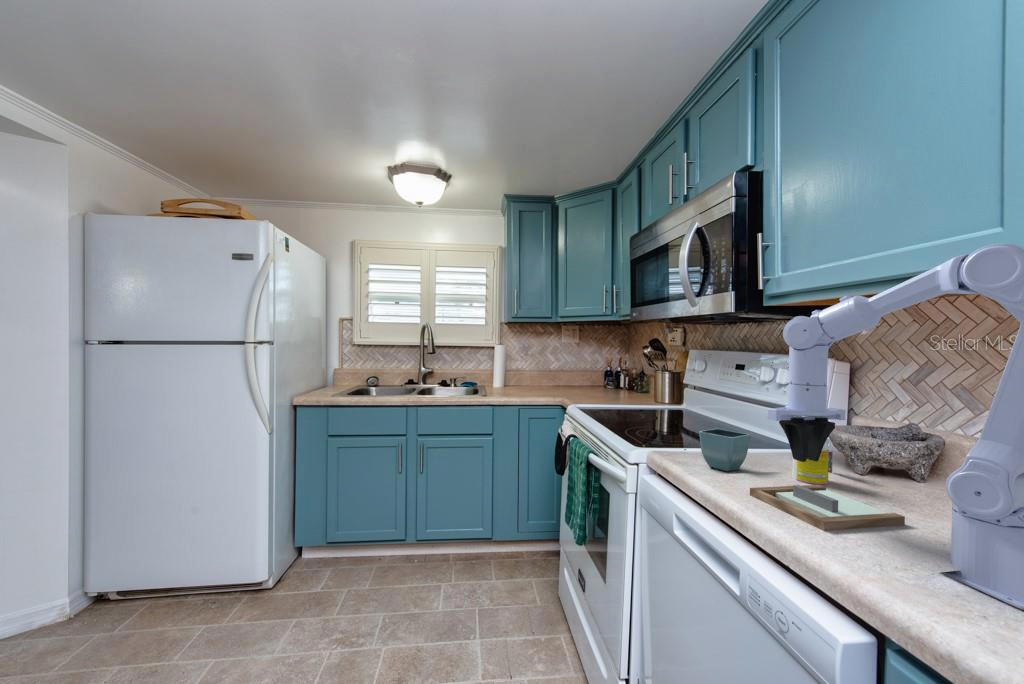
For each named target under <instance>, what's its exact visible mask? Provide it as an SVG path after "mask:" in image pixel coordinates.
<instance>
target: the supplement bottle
mask: <svg viewBox="0 0 1024 684" xmlns="http://www.w3.org/2000/svg"><path fill="white" fill-rule="evenodd" d="M791 457H792V458H791V479H792V480H794V481H797V482H800V483H804V484H807V485H821V486H826V485H828V484H829V472H828V466H829V444H827V443H826V442H825V444H824V446H823V449H822V452H821V454H820V457H819V460H818V461H812V460H809V459H806V462H801V461H798V460H795V459H793V456H792V455H791Z"/></svg>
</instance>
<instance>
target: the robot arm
mask: <svg viewBox="0 0 1024 684" xmlns="http://www.w3.org/2000/svg"><path fill="white" fill-rule="evenodd" d="M947 294H949V295H950V294H952V295H982V296H983V297H987V298H989V299H991V300H993V301H994V302H997V303H999V305H1000V306H1002V308H1004V309H1005V310H1006V312H1008V313H1009V314H1011V315H1012V317H1014V318H1015V319H1016V320H1017V321H1018V322H1019V323H1020V325H1019V328H1018V331H1017V334H1016V336H1015V339H1014V342H1013V344H1012V347H1011V350H1010V352H1009V355H1008V357H1007V362H1006V364H1005V367H1004V370H1003V372H1002V375H1001V378H1000V380H999V383H998V386H997V389H996V391H995V394H994V397H993V399H992V403H991V406H990V408H989V410H988V414H987V416H986V419H985V422H984V424H983V427H982V430H981V433H980V435H979V438H978V440H977V442H976V443H975V444H974V445H973V447H972V448H971V449H970V450H969V451H968V453H967V454H966V456H965V458H964V461H963V462H962V463H963V464H962V465H961V466H960V467H959V468H958V469H956V470H955V471H953V472H952V473H951V474H949V475H948V477H947V479H946V481H945V490H946V494H947V496H948V498H949V499H950V501H951V502H952V504H951V532H950V541H951V543H950V563H951V565H952V566H953V567H954V568H956V569H957V570H949V571H941V572H939V573H941V574H942V575H944V576H947V577H949V578H951V579H953V580H956V581H958V582H960V583H962V584H965V585H966V586H969V587H971V588H973V589H976V590H978V591H980V592H982V593H984V594H987V595H989V596H991V597H994V598H995V599H998V600H1000V601H1003V602H1004V603H1006V604H1009V605H1011V606H1014V607H1015V608H1018V609H1020V610H1023V611H1024V247H1022V246H1019V245H1017V244H1012V243H1005V242H1003V243H1002V242H1001V243H1000V242H999V243H992V244H989V245H985V246H982V247H980V248H977V249H976V250H974V251H972V252H971V253H970V254H969V253H965V254H961V255H958V256H954V257H953V258H950V259H949V260H947V261H945V262H944V263H941V264H939V265H937V266H935V267H932V268H931V269H929V270H927V271H924V272H921V273H920V274H918V275H916V276H913V277H911V278H909V279H908V280H905V281H903V282H901V283H899V284H897V285H894V286H893V287H891V288H888V289H886V290H884V291H882V292H879V293H878V294H875V295H873V296H872V297H866V296H863V295H855V296H854V295H853V296H852V295H845V296H843V297H841V298H839V303H836V304H834V305H831V306H829V307H826V308H824V309H822V310H821V309H815V310H814V311H812V312H811V315H810V317H809V316H804V315H798V316H795V317H793V318H792V319H790V320H789V321H788V322H787V323H786V324H785V325H784V327H783V331H782V337H783V341H784V342H785V343H786V344H787V346H788V349H789V350H788V351H789V352H788V392H787V394H788V395H787V397H788V398H787V405H785V406H783V407H774V408H773V407H769V408H767V420H771V421H775V422H778V423H779V425H780V427H781V428H782V431H783V432H784V434H785V436H786V438H787V440H788V443H789V444H788V445H789V447H790V451H791V457H792V456H793V459H795V460H798V461H801V462H806V459H809V460H812V461H818V460H819V457H820V454H821V452H822V449H823V446H824V444H825V442H826V440H827V438H828V437H830V435H831V433H832V432H833V431H834V430H835V429H836V423H835V422H834V421H829V420H837V421H838V420H839V421H846V409H844V408H843V409H842V408H837V407H827V405H828V404H827V403H828V401H827V400H828V363H829V361H828V360H829V359H828V357H829V356H828V355H829V349H830V348H831V346H832V345H833V344H834V343H835V342H839V341H841V340H843V339H846V338H849V337H851V336H854V335H857V334H859V333H862V332H865V331H867V330H870V329H873V328H876V327H877V326H878V324H879V322H880V320H881V318H882V317H883V316H886V315H888V314H890V313H894V312H897V311H899V310H902V309H903V310H904V309H905V308H909V307H911V306H914V305H917V304H919V303H923V302H926V301H929V300H931V299H934V298H937V297H941V296H944V295H947Z"/></svg>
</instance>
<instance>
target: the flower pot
mask: <svg viewBox="0 0 1024 684" xmlns="http://www.w3.org/2000/svg"><path fill="white" fill-rule="evenodd" d="M698 434H699V443H700V451H701V454H702V457H703V459H704V461H705V462H706V464H707V465H708V467H710V468H712V467H713V468H714V469H716V470H717V469H718V470H721V471H723V472H731V471H736V470H739V469H740V468H741V466H742V465H743V463H744V462H745V460H746V458H747V454H748V451H749V446H750V445H749V444H750V441H751V440H750V439H751V434H748V433H744V432H738V431H733V430H727V429H723V428H722V429H721V428H712V429H706V430H699V431H698Z"/></svg>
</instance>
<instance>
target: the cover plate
mask: <svg viewBox="0 0 1024 684" xmlns="http://www.w3.org/2000/svg"><path fill="white" fill-rule="evenodd" d="M792 486H793V492H778V493H776V498H778V499H781V500H783V501H785V502H787V503H789V504H792V505H794V506H796V507H798V508H800V509H803V510H805V511H807V512H809V513H811V514H814V515H816V516H818V517H835V516H851V515H867V514H883V513H889V512H888V511H884V510H882V509H879V508H876V507H874V506H872V505H868V504H866V503H863V502H860V501H858V500H855V499H852V498H850V497H847V496H844V495H842V494H839V493H837V492H834V491H832V490H830V489H829V490H828V489H826V490H820V491H813V490H810V489H808V488H805V487H802V486H803V485H800V484H796V485H795V484H794V485H792Z"/></svg>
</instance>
